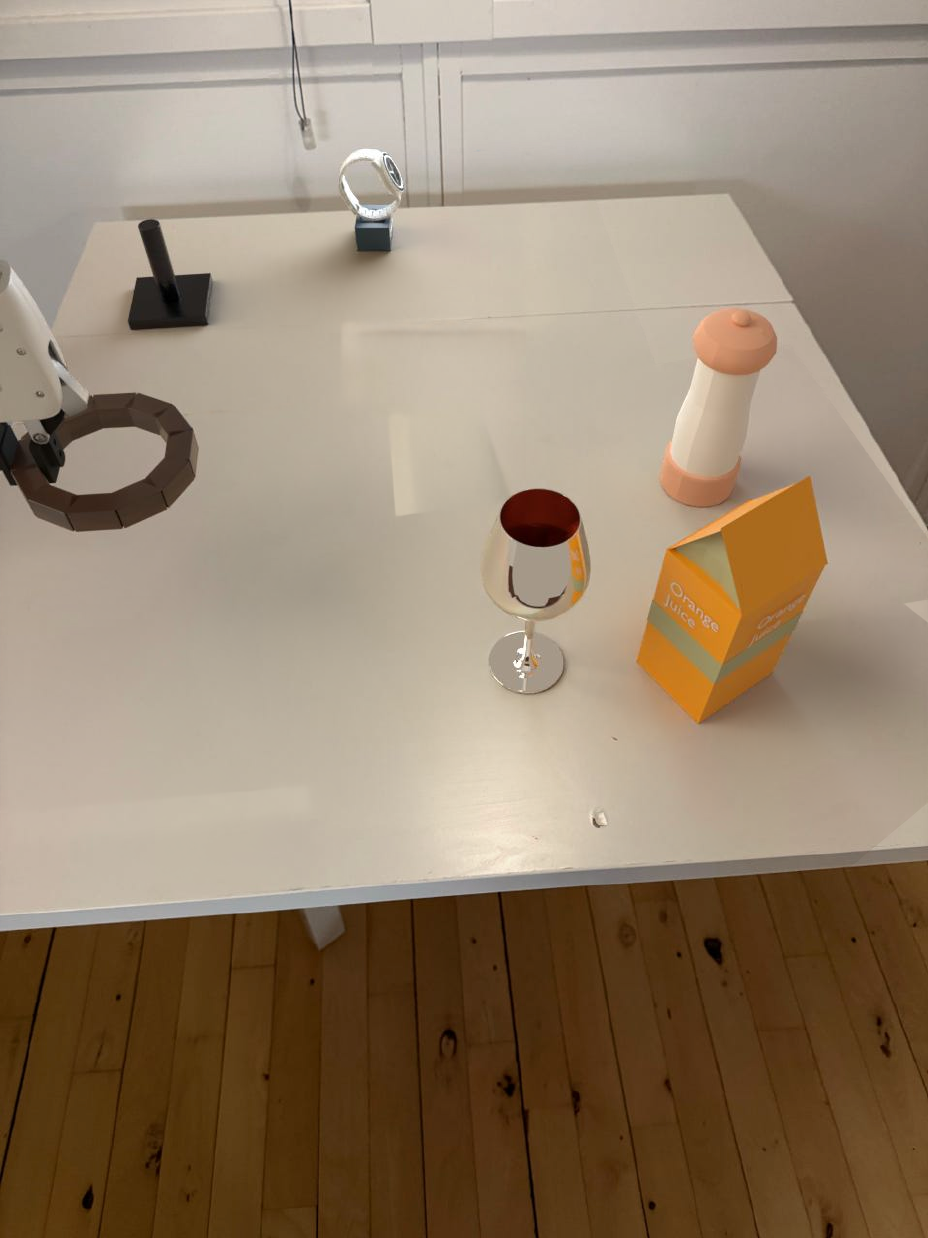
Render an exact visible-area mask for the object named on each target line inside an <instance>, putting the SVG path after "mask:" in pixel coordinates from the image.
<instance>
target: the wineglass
mask: <svg viewBox="0 0 928 1238" xmlns="http://www.w3.org/2000/svg"><path fill="white" fill-rule="evenodd" d="M496 515H497V516H496V518H495V520H494V522H493V524H492V526H491V529H490V531H489V533H488V536H487V538H486V541H485V543H484V546H483V549H482V553H481V559H480V563H479V564H480V567H479V572H480V579H481V583H482V586H483V588H484V591H485V593H486V594H487V596H488V597H489V599H490V600H491V602H492V603H493V604H494V605H495V606H496V607H498V609H500V610H501V611H502V612H504V613H505V614H507V615H509V616H511V617H512V618H515V619H518V620H522V621H524V622H525V623H524V630H519V631H513V632H511V633H508V634H506V635H503V636H502V637H501V638H500V639H498V640H497V641H496V642H495V643H494V645H493V646H492V648H491V649H490V652H489V655H488V667H489V671H490V673H491V676H492V677H493V678H494V680H495V681H496V682H497V683H498V684H499V685H500V686H502V687H503V688H504V689H506V690H508V691H510V692H514V693H516V694H522V695H532V694H533V695H534V694H538V693H542V692H545V691H546V690H549V688H551V687H553V686H554V685H555V684H557V681H559V680H560V678H561V676H562V674H563V671H564V657H563V653H562V651H561V649H560V647H559V646H558V645H557V644H556V643H555V641H554V640H552V639H551V638H549V637H547V636H546V635H544V634H542V633H539V632H535V630H536V629H535V627H536V622H545V621H549V620H553V619H556V618H558V617H561V616H562V615H565V614H566V613H567V612H569V611H570V610H572V609H573V608H574V607H575V606H577V604H578V603H579V602H580V601H581V600H582V598H583V596H584V595H585V594H586V592H587V590H588V587H589V584H590V581H591V573H592V564H591V555H590V549H589V544H588V540H587V535H586V534H587V533H586V531H585V526H584V522H583V518H582V514H581V511H580V508H579V507H578V505H577V504H576V502H574V501H573V499H571V498H570V497H569V496H567V495H566V494H565V493H563V492H559V491H557V490H554V489H550V488H545V487H532V488H525V489H522V490H520V491H517V492H515V493H513V494H512V495H510V496H509V497H507V499H505V500H504V502H502V505H501V507H500V508H499V511H498V513H497V514H496Z"/></svg>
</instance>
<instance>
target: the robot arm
mask: <svg viewBox="0 0 928 1238" xmlns="http://www.w3.org/2000/svg"><path fill="white" fill-rule="evenodd" d="M90 396H91V394H90V392H88V390H87V389H86V388H85V387H84V386H83V385H82V384H81V383H80V382H79V381H78V380H77V379H76V378H75V377H74V376H73V375H72V374H71V373H70V372H69V369H68V366H67V363H66V360H65V358H64V355H63V353H62V351H61V349H60V347H59V344H58V342H57V340H56V338H55V336H54V334H53V332H52V330H51V328H50V326H49V324H48V322H47V320H46V318H45V317H44V315H43V312H41V310H40V307H39V306H38V304H37V303H36V302H35V299H34V298H33V297H32V294H31V293H30V292H29V290H28V289H27V287H26V286H25V284H24V283H23V281H22V279H20V277H19V275H18V274H17V273H16V271H15V270H14V269H13V267H12V266H11V265H10V264H9V262H8V261H7V260H3V259H0V472H2V473H3V475H4V477H5V479H6V480H7V482H8V484H9V486H11V487H15V486H16V487H18V486H17V484H16V482H15V480H14V478H13V476H12V475H11V471H10V469H11V467H12V464H13V460H14V457H15V453H16V450H17V446H18V443H19V439H18V437H17V435H16V434H15V432H14V429H13V428H12V426H11V424H8V423H17V422H22V423H23V425H24V427H25V429H26V432H28V433H29V435H30V437H31V440H30V443H29V450H30V452H31V454H32V456H33V458H34V460H35V462H36V464H37V466H38V467H39V468H40V469H41V471H42V473H43V474H44V476H45V478H46V479H47V481H48V482H49V484H56V483H57V481H58V477H59V474H60V469H61V468H63V467H65V464H66V454H65V449H64V450H63V448H62V446H61V444H60V441H59V439H58V437H57V435H56V433H55V430H56V428H57V427H58V426H59V425H60V424H61V422H62V421H63V419H64V418H65V417H68V416H69V417H70V416H72V415H74V414H77V413H79V412H81V411H83V410H85V409H87V407H88V402H89V398H90Z"/></svg>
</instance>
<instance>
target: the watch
mask: <svg viewBox="0 0 928 1238" xmlns="http://www.w3.org/2000/svg"><path fill="white" fill-rule="evenodd" d="M364 161H367V162H370V165H371V166H372V167H373V168H374V170H375V172H376V175H377V178H378V179H379V182H380V183H381V185H382V186H383V189H385V191H386V192H387V193H388V194H390V195H391V196H392V197H394V200H393V202H391V204H360V200H358V199H357V197H356V196H355V194H354V193H353V191H352V190H351V188H350V186H349V184H348V181H347V180H346V176H345V175H344V172H346V170H347V169H348V168H349V167H351V166H352V165H353V164H355V163H359V162H364ZM404 183H405V182H404V180H403V176H402V174H401V172H400V169H399V168H398V165H397V164H396V162H395V160H393V158H392V156H390V155H389V153H388V152H385V151H381V150H378V149H374V148H361V149H357V150H355V151H353V152H351V153H350V154H349V155H348V156H347V157H346V158H345V159H344V160H343V162H342V164H341V166H340V170H339V176H338V191H339V194H340V196H341V198H342V200H343V202H344V203H345V205H346V206H347V209H349V210H350V212H351V213H352V214H353V215H354V216H356V217H355V224H354V234H355V244H356V251H357V252H391V251H392V243H393V233H394V220H393V219H394V218H393V215H394V214H395V212H396V211H397V210H398V208H399V207H400V204H401V199H402V193H403V192H404V191H405V184H404Z"/></svg>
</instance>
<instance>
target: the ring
mask: <svg viewBox="0 0 928 1238" xmlns="http://www.w3.org/2000/svg"><path fill="white" fill-rule="evenodd" d="M119 428H137V429H139V430H140V429H141V430H143V431H145V432H149V433H152V434H155V435H157V436H160V437H161V439H162V440H163V441H164V442H165V444H166V445H165V451H164V452H165V453H164V457H163V458H162V459H161V460H160V462H159V463H158V464H157V465H156V466H155V467H154V468H153V469H152V470H151V471H150V472H149V473H148V474H147V475H146V476H145V477H144V478H142V479H141V480H138V481H136V482H134V483H131V484H128V485H126V486H124V487H122V488H119V489H118V490H117V489H116V490H115V491H112V492H103V493H101V492H100V493H87V494H85V493H84V494H76V493H73V492H71V491H68V490H65V489H62V488H59V487H57V486H55V485H52V484H51V483H49V482H48V481H47V479H46V478H45V476H44V474H43V473H42V471H41V469H40V468H39V467H38V466H37V464H36V462H35V460H34V458H33V456H32V454H31V452H30V450H29V443H30V440H31V437H30V435H29V433H28V431H26V433H25V434H23V435H22V436H20V439H18V441H19V443H18V446H17V450H16V453H15V457H14V460H13V464H12V467H11V469H10V471H11V475H12V476H13V478H14V480H15V482H16V484H17V486H16V487H18V490H19V491H20V493H21V495H22V496H23V498H24V499H25V501H26V503H27V505H28V506H29V508H30V510H31V512H32V513H33V515H34V516H35V517H36V518H37V519H40V520H42V521H44V522H48V523H50V524H53V525H55V526H57V527H60V528H63V529H66V530H68V531H71V532H76V533H82V532H97V531H115V530H123V529H128V528H130V527H131V526H134V525H136V524H138V523H141V522H143V521H145V520H147V519H149V518H152V517H153V516H154V517H155V516H156V515H158V514H160V513H163V512H164V511H167V510H168V509H170V508H171V507H172V506H173V504H174V503H175V502H176V501H177V500H178V499H179V498H180V496H181V495H182V494H183V493H184V492H185V491H186V490H187V489H188V488H189V487H190V485H191V484H192V483H194V481H195V479H196V478H197V468H198V457H199V451H200V450H199V449H200V447H199V444H198V441H197V437H196V433H195V431H194V428H193V426H192V425H191V424H190V423H189V421H188V420H187V418H185V417H184V415H183V414H182V413H181V412H180V410H179V409H178V407H177V406H176V405H175V404H173V403H170V402H167V401H165V400H162V399H159V398H157V397H153V396H150V395H146V394H144V393H140V392H135V391H134V392H119V393H117V392H116V393H101V394H99V393H98V394H93V395H91V394H90V398H89V402H88V407H87V409H85V410H83V411H81V412H79V413H77V414H74V415H72V416H70V417H69V416H68V417H65V418H64V419H63V421H62V422H61V424H60V425H59V426H58V427H57V428H56V430H55V433H56V435H57V437H58V439H59V441H60V444H61V446H62V448H63V450H64V451H65V449H66V448H67V447H68V446H69V445H71V443H72V442H74V441H76V440H78V439H79V440H80V439H81V438H84V437H86V436H88V435H89V436H90V435H91V434H93V433H96V432H98V431H101V430H103V429H119Z"/></svg>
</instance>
